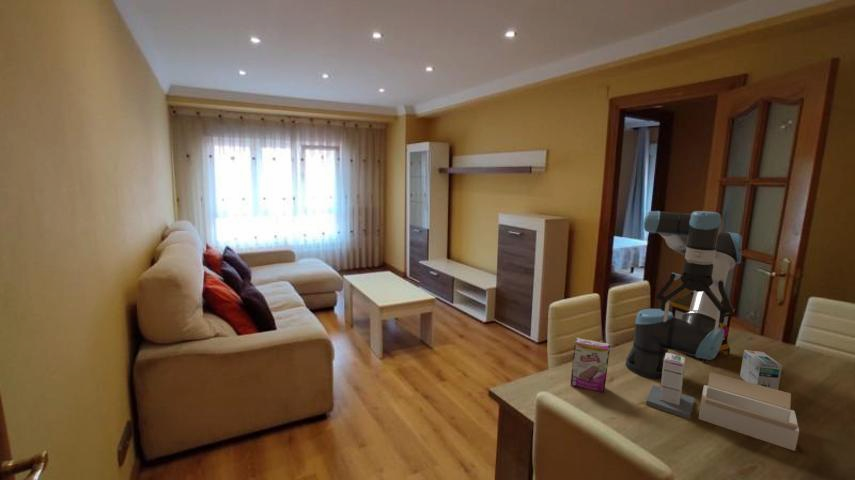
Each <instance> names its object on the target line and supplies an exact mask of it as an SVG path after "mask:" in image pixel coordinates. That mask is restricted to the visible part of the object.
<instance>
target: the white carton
mask: <svg viewBox="0 0 855 480" xmlns="http://www.w3.org/2000/svg"><path fill="white" fill-rule="evenodd" d="M707 381H708V383H707V385H706V384H703V389H702V393H701V400H700V407H699V413H698V420H701V421H703V422H706V423H710V424H712V425H715V426H719V427H722V428H724V429H727V430H731V431H733V432H736V433H740V434H743V435H746V436H749V437H752V438H755V439H757V440H761V441H764V442H767V443H770V444H773V445H776V446H778V447H782V448H785V449H788V450H792V451H794V452H795V451H796V449H797V443H798V439H799V434H800V428H799V425H798V424H799V423H798V421H797V415H796V411H795V410H793V409H791V403H792V402H791V401H792V400H791V399H792V393H791V392H786V391H784V390H783V391H782V390H779V389H778V390H776V389H772V388H769V387H765V386H761V385H757V384H754V383H750V382H746V381H744V380H743V379H742V380H741V379H739V378H734V377H731V376H727V375H723V374H720V373H716V372H712V371H709V376H708V380H707Z"/></svg>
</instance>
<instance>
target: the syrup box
mask: <svg viewBox="0 0 855 480" xmlns="http://www.w3.org/2000/svg"><path fill="white" fill-rule="evenodd" d="M685 364H686V356H683V355H679V354H677V353H671V352H670V353H669V352H668V353H665V356H664V362H663V370H662V379H660V380H661V381H660V386H659V387H660V396H659V399H660V400H662V401H665V402H668V403H672V404H675V405H679V404H680V399H681V394H682V391H683V383H684V376H685Z"/></svg>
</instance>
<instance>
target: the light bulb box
mask: <svg viewBox="0 0 855 480" xmlns="http://www.w3.org/2000/svg"><path fill="white" fill-rule="evenodd" d="M782 370H783V364H781V363H780V362H779V361H777V360H775V359H774V358H772V357H771V356H769V355H768V354H767V353H766V352H764V351H757V350H750V349H749V350H747V349H744V350H743V356H742V361H741V367H740V373H739V377H740V378H741V379H742V380H743V381H746V382H750V383H754V384H757V385H761V386H765V387H769V388H772V389H776V390H779V387H780V386H779V385H780V380H781V374H782Z"/></svg>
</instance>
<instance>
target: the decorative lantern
mask: <svg viewBox="0 0 855 480" xmlns="http://www.w3.org/2000/svg"><path fill="white" fill-rule="evenodd" d="M694 291H695V290H693V291H691V292H690V293H689V294H686V295H683V296H678V297H676V298H673V299H672V300H669V301H670V305H671V308H672V310H671V312H672V313H673V317H674V318H678V319H682V316H683V314H684V313H687V312H689V309H690V305H691V302H692V298H693V295H694ZM721 304H722V305H723V306H724V308H726V306H725V303H724V301H723V299H722V300H721ZM732 307H733V309H734V310H733V313H734V312H735V311H736V307H734V305H733V304H732ZM733 313H726V314H725V318H724V322H723V324H722V323H720V324H721V327H720V328H722V329H724V337H723V340H722V344H721V347H720V349H719V351H718V354H720V353H723V354H724V355H725V356H728V355H729V354H730V350H731V348H730V347H731V346H730V345H729V342H728V338H729V337H728V336H729V331H730V324H731V319H732V314H733ZM702 362H703V364H706V363H707V362H708V359H703V358H702Z"/></svg>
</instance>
